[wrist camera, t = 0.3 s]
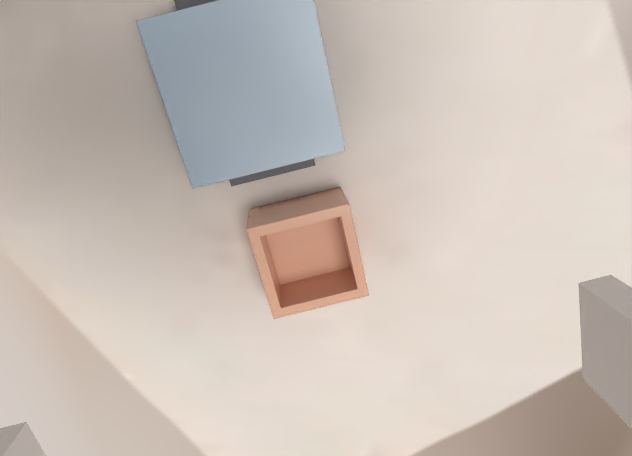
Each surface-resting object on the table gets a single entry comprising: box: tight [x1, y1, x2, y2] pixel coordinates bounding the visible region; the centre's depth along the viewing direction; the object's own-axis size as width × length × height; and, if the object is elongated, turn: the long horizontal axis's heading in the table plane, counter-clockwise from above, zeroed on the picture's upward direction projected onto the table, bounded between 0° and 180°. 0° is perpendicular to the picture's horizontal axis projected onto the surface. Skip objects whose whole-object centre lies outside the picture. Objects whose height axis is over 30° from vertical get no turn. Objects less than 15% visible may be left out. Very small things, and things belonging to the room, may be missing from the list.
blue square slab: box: [136, 0, 346, 189], centre depth 29 cm, size 10×10×2 cm
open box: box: [246, 187, 369, 319], centre depth 34 cm, size 7×7×4 cm
